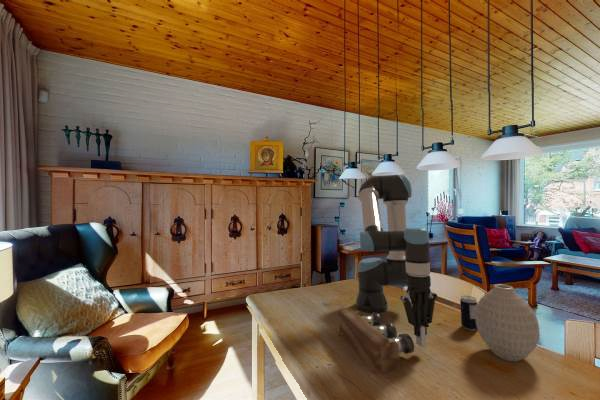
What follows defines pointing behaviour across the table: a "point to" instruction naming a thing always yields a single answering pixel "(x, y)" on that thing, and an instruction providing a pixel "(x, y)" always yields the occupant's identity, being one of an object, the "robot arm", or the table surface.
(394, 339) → the knob
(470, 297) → the beverage can
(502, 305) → the vase
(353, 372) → the table surface
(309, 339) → the table surface
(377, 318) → the knob
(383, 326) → the knob
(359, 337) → the wooden rack
